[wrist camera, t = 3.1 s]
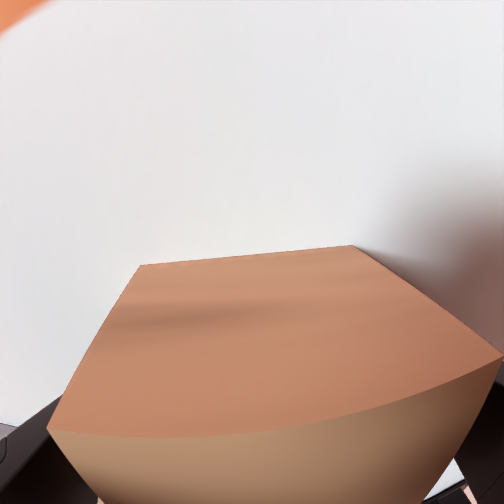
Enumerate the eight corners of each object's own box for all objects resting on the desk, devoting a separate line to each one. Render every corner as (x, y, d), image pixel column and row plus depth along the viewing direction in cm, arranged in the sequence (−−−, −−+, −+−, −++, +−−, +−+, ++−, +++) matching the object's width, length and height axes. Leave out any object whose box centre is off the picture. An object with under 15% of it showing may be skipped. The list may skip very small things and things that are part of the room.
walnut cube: (338, 397, 11) (402, 525, 5) (178, 418, 10) (171, 564, 4) (350, 244, 9) (504, 355, 3) (141, 264, 8) (46, 427, 2)
